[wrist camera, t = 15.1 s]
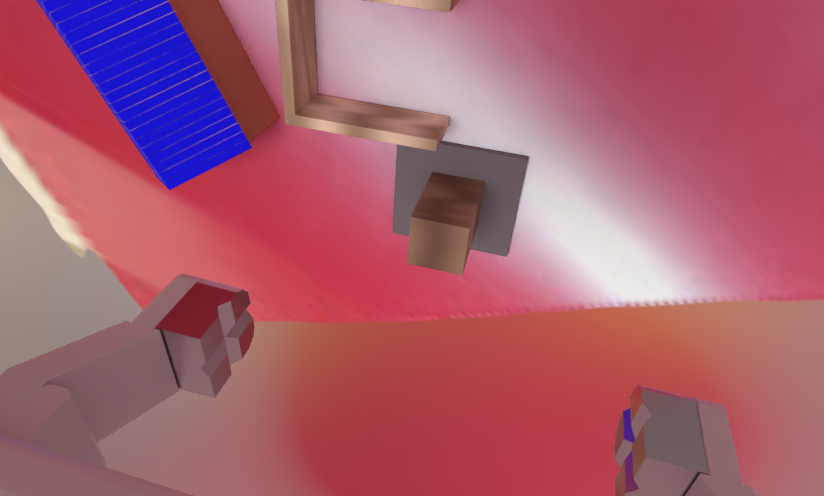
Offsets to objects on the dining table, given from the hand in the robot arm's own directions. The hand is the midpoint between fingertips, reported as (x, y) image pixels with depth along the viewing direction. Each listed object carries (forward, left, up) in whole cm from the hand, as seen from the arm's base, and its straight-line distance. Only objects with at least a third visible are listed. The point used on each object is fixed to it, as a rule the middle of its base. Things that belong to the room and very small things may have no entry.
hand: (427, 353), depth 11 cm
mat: (+5, +20, -38) cm, 43 cm away
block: (+5, +20, -38) cm, 43 cm away
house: (+32, +9, -39) cm, 51 cm away
